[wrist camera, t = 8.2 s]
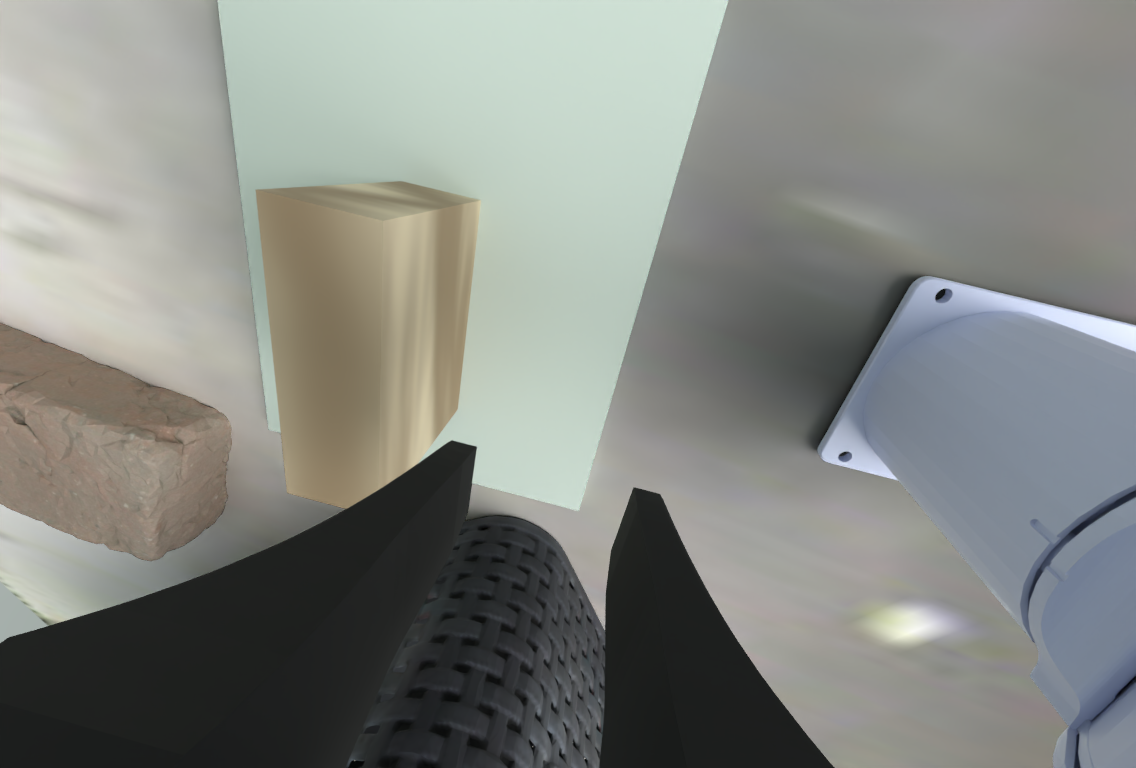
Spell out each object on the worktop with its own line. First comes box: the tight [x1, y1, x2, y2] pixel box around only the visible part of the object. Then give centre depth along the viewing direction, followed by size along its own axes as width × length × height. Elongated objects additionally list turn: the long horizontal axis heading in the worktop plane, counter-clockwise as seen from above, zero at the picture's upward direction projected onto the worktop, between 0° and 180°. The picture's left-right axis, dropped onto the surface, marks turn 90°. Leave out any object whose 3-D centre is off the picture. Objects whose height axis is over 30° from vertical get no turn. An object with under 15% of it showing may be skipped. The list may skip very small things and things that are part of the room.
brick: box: [0, 323, 232, 561], centre depth 23 cm, size 16×8×5 cm, turn 69°
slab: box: [256, 181, 481, 509], centre depth 15 cm, size 3×9×7 cm, turn 168°
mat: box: [217, 0, 728, 511], centre depth 18 cm, size 16×20×1 cm
